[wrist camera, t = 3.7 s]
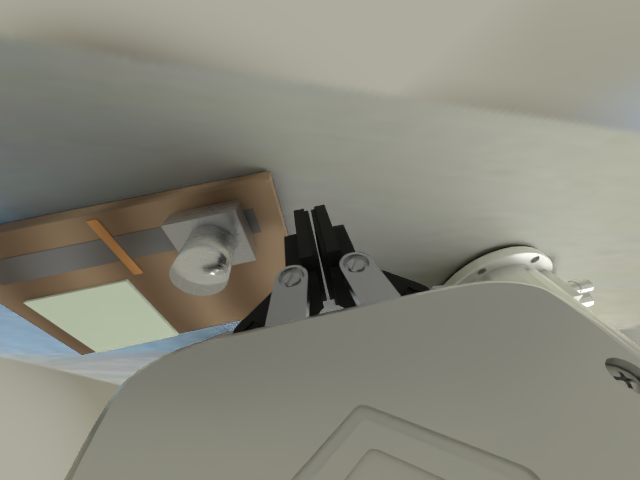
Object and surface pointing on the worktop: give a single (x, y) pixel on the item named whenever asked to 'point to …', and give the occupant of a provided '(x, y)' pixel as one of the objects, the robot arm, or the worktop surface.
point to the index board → (140, 254)
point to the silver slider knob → (208, 246)
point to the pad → (105, 316)
